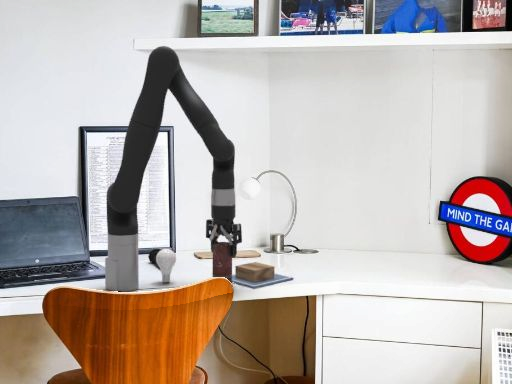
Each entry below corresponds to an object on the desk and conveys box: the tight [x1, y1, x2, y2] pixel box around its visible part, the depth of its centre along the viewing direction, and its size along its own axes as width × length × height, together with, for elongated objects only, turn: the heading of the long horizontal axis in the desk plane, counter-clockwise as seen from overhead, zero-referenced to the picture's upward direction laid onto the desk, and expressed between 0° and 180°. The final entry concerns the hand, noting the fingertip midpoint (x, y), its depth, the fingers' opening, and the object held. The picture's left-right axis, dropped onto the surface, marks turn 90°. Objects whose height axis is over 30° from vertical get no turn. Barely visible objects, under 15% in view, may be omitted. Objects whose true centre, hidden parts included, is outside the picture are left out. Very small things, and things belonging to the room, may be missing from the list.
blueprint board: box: [232, 272, 294, 290], centre depth 220 cm, size 18×16×1 cm
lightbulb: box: [156, 248, 177, 284], centre depth 214 cm, size 6×6×11 cm
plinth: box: [234, 261, 275, 283], centre depth 219 cm, size 9×9×4 cm
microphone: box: [147, 248, 161, 269], centre depth 236 cm, size 6×6×20 cm
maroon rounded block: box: [211, 241, 233, 284], centre depth 209 cm, size 6×6×14 cm
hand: (223, 254), depth 209 cm, fingers open, 8 cm apart
